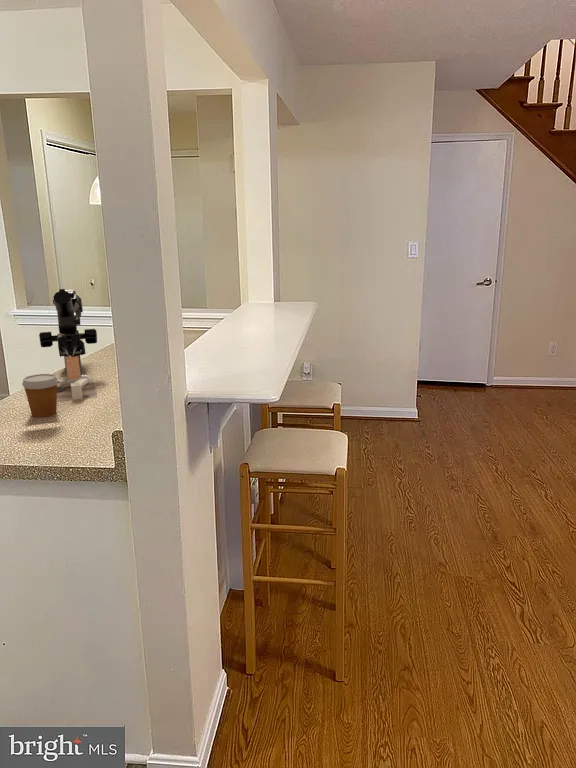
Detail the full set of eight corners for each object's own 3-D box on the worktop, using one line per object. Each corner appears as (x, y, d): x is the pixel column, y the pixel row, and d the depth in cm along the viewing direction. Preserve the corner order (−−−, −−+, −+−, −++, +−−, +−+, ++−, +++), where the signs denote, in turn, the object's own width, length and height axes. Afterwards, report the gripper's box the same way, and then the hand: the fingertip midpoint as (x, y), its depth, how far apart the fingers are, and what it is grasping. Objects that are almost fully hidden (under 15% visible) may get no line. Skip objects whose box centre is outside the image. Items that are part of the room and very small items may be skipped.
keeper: (71, 393, 186) (70, 379, 185) (89, 391, 188) (87, 377, 186) (72, 399, 179) (71, 385, 177) (90, 397, 181) (89, 384, 179)
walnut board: (46, 386, 198) (46, 383, 197) (92, 382, 203) (92, 378, 203) (46, 406, 176) (46, 402, 176) (98, 400, 182) (97, 397, 181)
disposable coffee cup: (54, 423, 161) (49, 382, 158) (20, 423, 162) (15, 382, 158) (67, 412, 171) (63, 373, 167) (35, 412, 171) (30, 373, 168)
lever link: (44, 389, 189) (40, 360, 186) (82, 379, 200) (80, 353, 197) (51, 391, 186) (48, 362, 184) (90, 381, 197) (87, 354, 194)
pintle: (44, 388, 191) (43, 377, 190) (64, 386, 193) (62, 376, 192) (44, 393, 185) (43, 382, 184) (64, 391, 188) (63, 380, 187)
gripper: (36, 309, 195) (39, 347, 188) (93, 305, 202) (99, 342, 195) (39, 328, 205) (42, 365, 198) (94, 324, 211) (99, 360, 204)
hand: (71, 357), depth 198 cm, fingers closed
